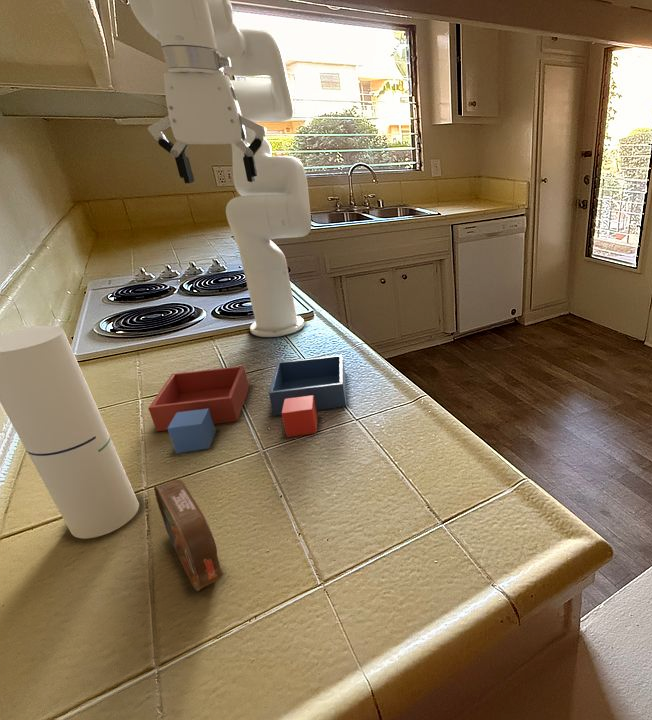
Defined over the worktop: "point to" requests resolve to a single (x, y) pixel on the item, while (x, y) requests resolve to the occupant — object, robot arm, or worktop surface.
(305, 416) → the red block
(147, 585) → the worktop surface
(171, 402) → the red bin
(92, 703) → the worktop surface
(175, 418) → the blue block
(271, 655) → the worktop surface
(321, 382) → the blue bin
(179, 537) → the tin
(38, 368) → the cylindrical container
